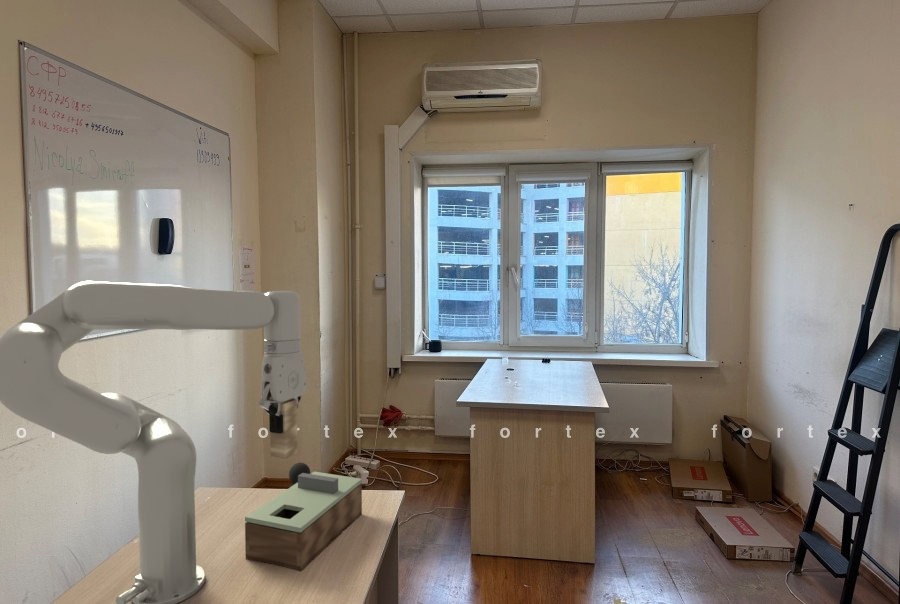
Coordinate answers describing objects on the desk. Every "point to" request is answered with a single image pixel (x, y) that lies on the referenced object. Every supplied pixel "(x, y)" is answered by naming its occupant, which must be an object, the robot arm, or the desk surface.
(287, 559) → the brown wooden box
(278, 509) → the lid
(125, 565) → the desk surface
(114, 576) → the desk surface
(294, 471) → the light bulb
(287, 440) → the block
